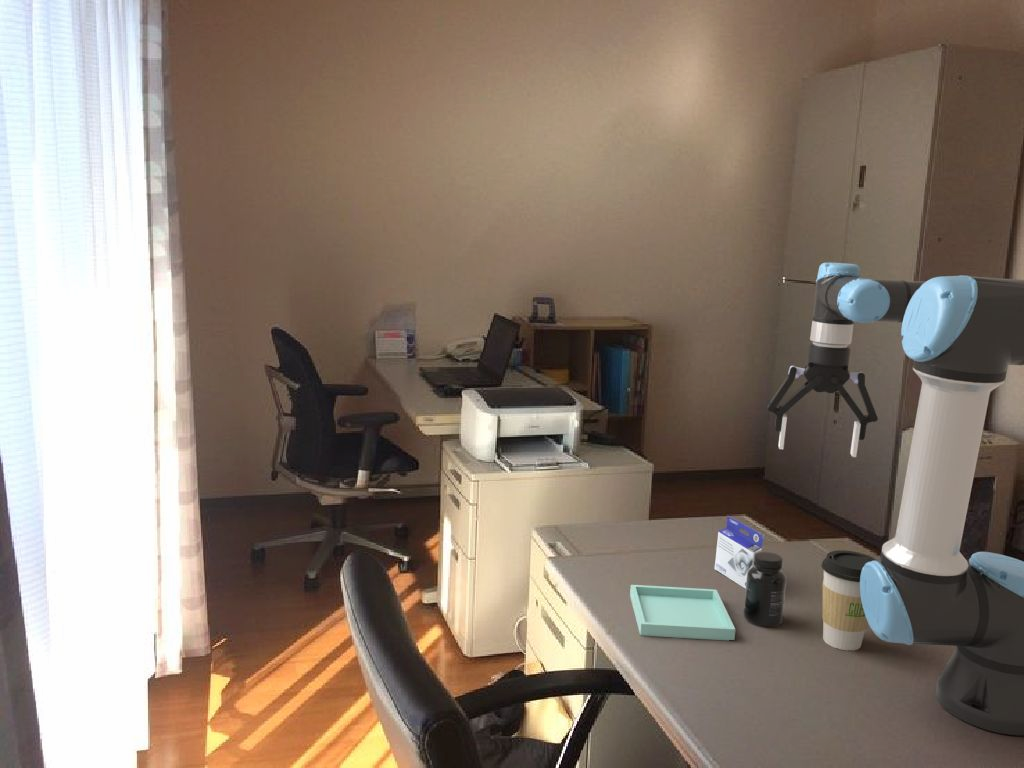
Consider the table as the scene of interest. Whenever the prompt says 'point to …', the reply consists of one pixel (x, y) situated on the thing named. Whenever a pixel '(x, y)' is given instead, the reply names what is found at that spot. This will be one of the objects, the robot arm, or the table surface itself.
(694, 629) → the tray
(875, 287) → the robot arm
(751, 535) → the ink box
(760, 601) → the supplement bottle
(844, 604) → the coffee cup
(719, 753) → the table surface
